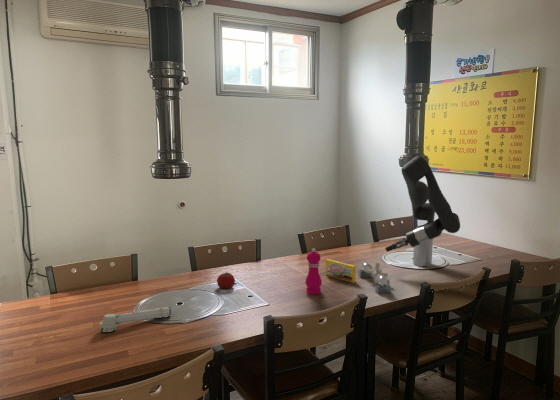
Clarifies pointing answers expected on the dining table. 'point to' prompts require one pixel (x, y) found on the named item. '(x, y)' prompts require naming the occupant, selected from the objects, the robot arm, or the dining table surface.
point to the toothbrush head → (132, 317)
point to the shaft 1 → (364, 270)
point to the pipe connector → (376, 272)
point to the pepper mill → (313, 273)
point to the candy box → (340, 270)
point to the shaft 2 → (382, 285)
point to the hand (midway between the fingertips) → (386, 249)
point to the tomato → (226, 280)
